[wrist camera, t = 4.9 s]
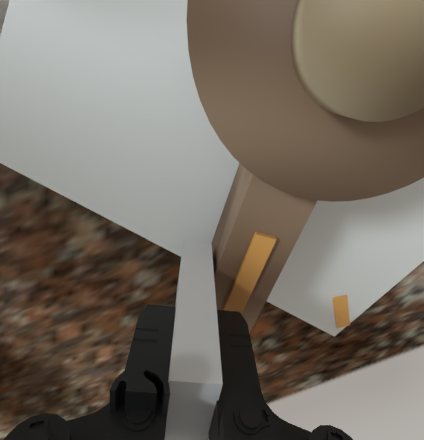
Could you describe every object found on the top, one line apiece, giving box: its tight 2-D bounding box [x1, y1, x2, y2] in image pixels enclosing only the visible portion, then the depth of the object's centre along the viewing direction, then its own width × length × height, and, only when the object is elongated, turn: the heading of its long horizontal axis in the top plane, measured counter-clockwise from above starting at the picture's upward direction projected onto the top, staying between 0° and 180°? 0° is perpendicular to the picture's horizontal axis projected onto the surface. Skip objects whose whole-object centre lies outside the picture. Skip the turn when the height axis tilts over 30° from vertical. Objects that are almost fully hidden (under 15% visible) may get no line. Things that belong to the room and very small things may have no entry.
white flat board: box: [0, 0, 424, 337], centre depth 11 cm, size 22×20×4 cm
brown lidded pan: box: [187, 0, 424, 334], centre depth 10 cm, size 18×9×5 cm, turn 163°
